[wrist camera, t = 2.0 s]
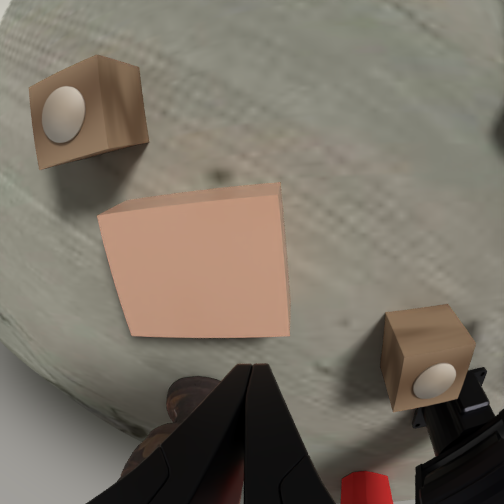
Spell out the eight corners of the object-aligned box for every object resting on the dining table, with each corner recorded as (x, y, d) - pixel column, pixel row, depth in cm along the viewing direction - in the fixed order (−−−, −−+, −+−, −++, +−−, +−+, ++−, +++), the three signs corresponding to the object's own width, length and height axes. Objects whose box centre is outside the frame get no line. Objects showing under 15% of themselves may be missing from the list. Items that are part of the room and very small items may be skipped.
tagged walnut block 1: (149, 142, 18) (106, 149, 14) (86, 158, 19) (37, 170, 14) (139, 67, 17) (94, 53, 12) (77, 90, 17) (26, 87, 13)
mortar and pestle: (128, 401, 28) (44, 568, 9) (132, 339, 24) (4, 549, 6) (240, 439, 28) (202, 624, 9) (269, 385, 24) (231, 635, 6)
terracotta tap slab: (290, 301, 22) (289, 336, 18) (153, 305, 23) (131, 335, 19) (280, 181, 19) (278, 194, 15) (128, 199, 20) (97, 215, 17)
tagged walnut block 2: (436, 356, 22) (458, 400, 17) (379, 365, 23) (393, 414, 18) (447, 303, 20) (477, 345, 15) (385, 312, 21) (405, 359, 16)
